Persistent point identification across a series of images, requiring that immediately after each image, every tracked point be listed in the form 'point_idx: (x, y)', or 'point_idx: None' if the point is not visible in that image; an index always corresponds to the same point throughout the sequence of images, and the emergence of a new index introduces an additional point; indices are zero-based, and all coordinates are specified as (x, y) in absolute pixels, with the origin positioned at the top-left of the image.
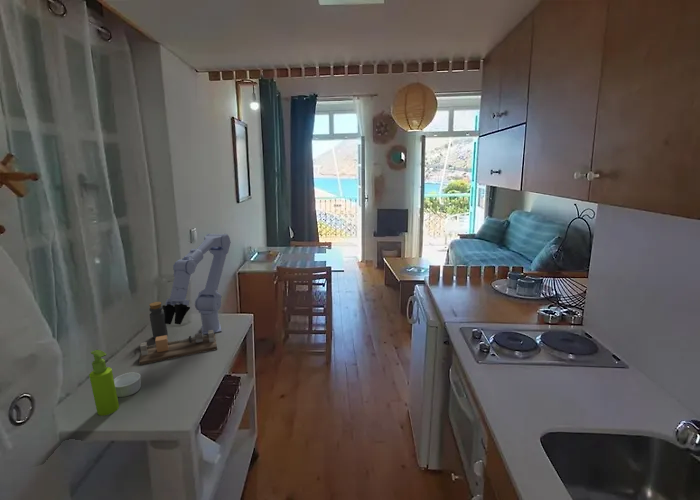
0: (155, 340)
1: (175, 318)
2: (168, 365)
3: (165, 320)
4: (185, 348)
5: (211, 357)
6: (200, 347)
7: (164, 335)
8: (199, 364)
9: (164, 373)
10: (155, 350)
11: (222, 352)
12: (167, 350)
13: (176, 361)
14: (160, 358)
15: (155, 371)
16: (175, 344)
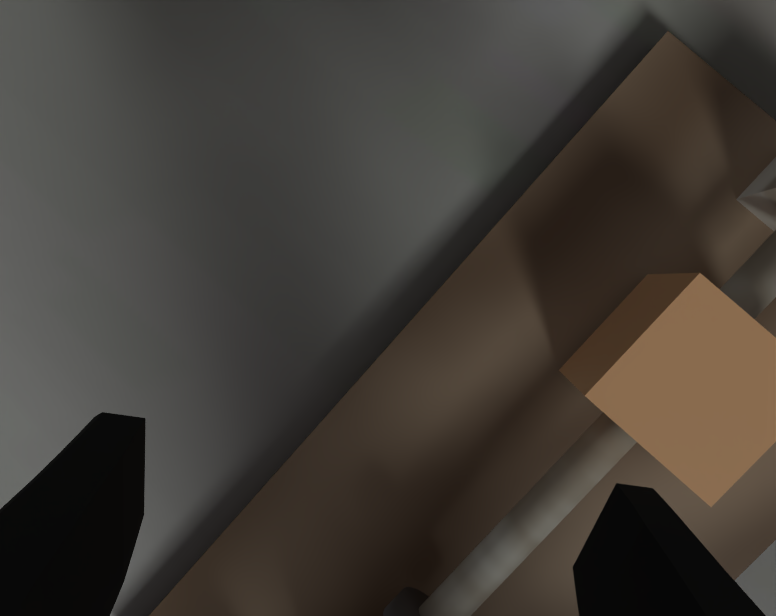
0: (720, 291)
1: (46, 498)
2: (332, 177)
3: (650, 532)
4: (412, 497)
5: None
6: (263, 579)
7: (736, 480)
8: (50, 324)
9: (233, 45)
10: None
11: None
12: None
13: (323, 274)
14: (507, 212)
15: (356, 30)
16: None
